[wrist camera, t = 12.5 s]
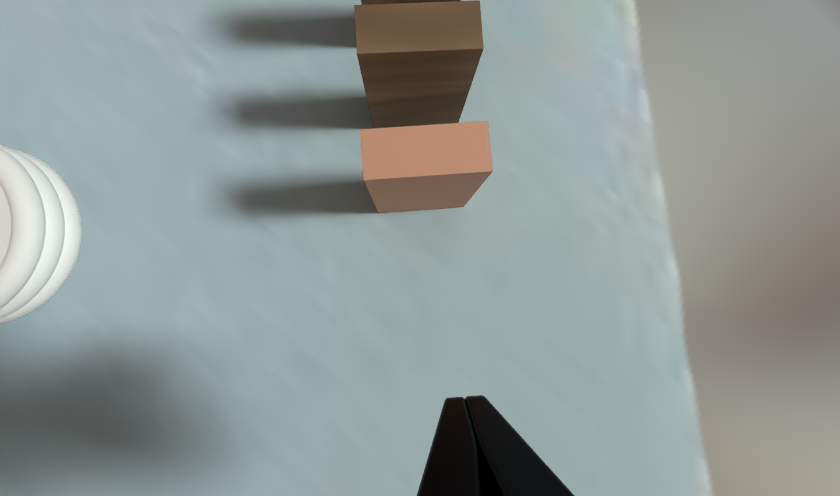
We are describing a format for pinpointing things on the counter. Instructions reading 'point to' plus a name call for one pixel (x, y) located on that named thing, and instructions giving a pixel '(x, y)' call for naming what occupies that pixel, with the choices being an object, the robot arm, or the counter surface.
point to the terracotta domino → (425, 165)
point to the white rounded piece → (34, 233)
